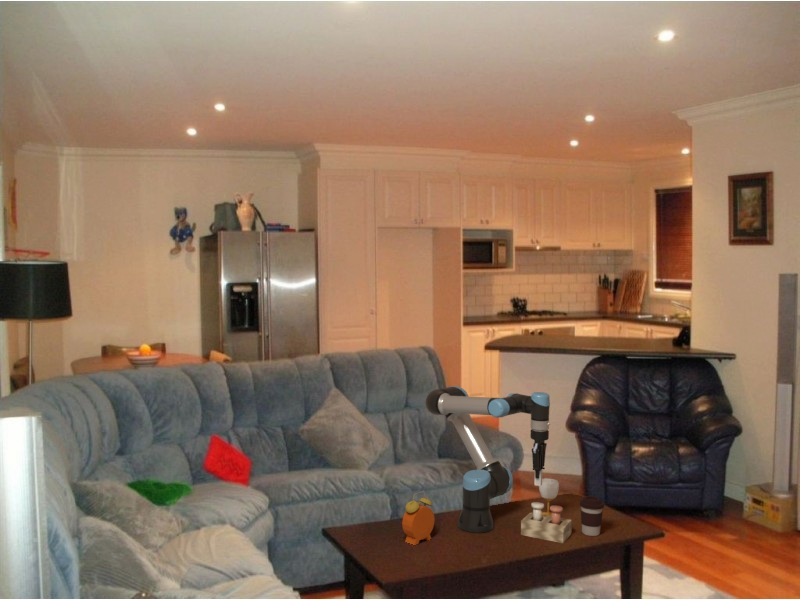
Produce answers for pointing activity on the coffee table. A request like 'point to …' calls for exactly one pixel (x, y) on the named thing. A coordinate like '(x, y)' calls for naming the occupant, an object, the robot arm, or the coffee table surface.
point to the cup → (549, 491)
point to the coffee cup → (591, 515)
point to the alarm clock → (418, 521)
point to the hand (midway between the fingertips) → (538, 484)
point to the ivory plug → (537, 510)
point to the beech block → (546, 528)
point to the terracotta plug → (556, 514)
